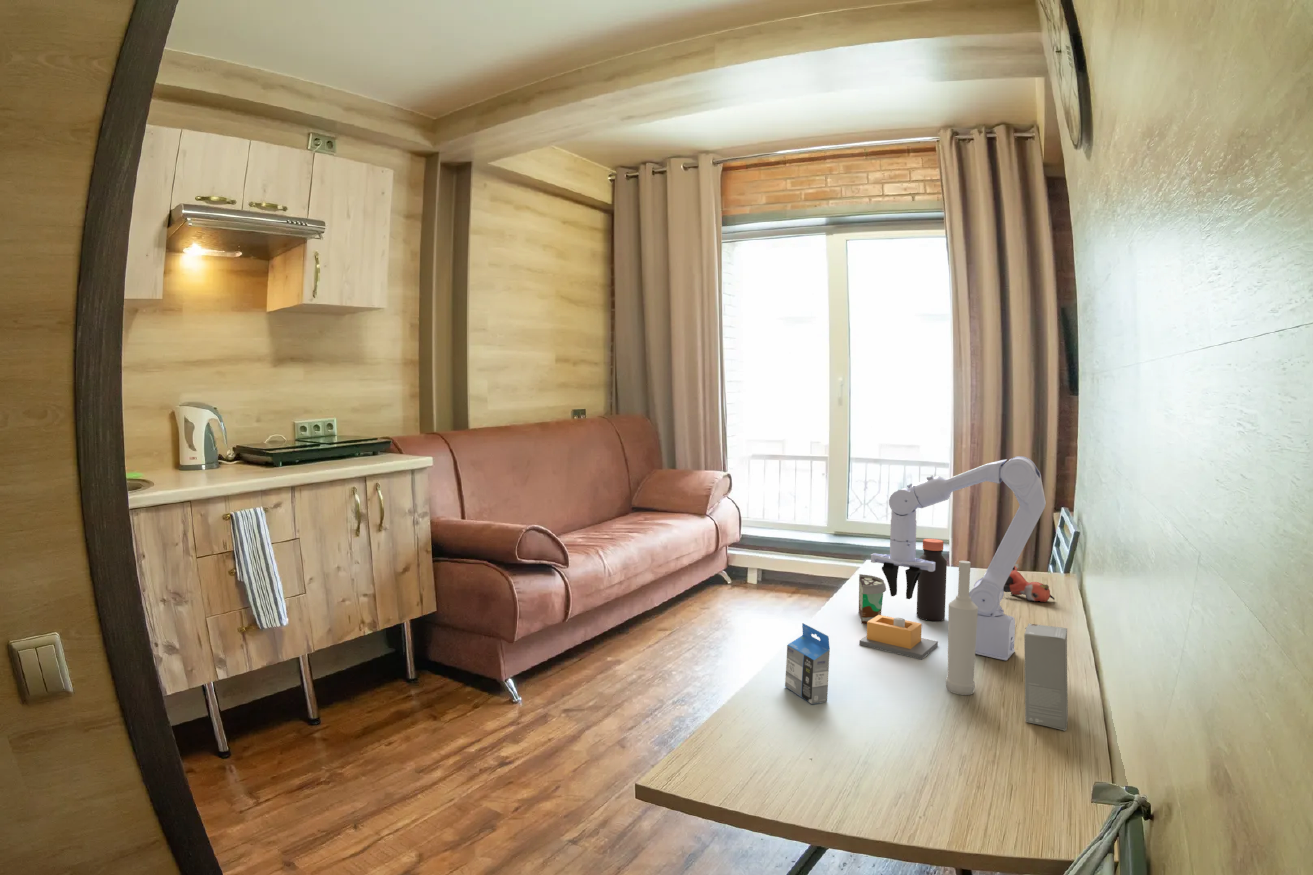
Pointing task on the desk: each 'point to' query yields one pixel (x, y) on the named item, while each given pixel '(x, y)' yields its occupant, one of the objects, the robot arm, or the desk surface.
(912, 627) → the link
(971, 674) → the bottle
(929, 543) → the vinegar
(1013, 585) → the stuffed fox
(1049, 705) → the skincare box
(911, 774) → the desk surface
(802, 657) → the label tape box
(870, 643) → the plate
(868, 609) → the food container
